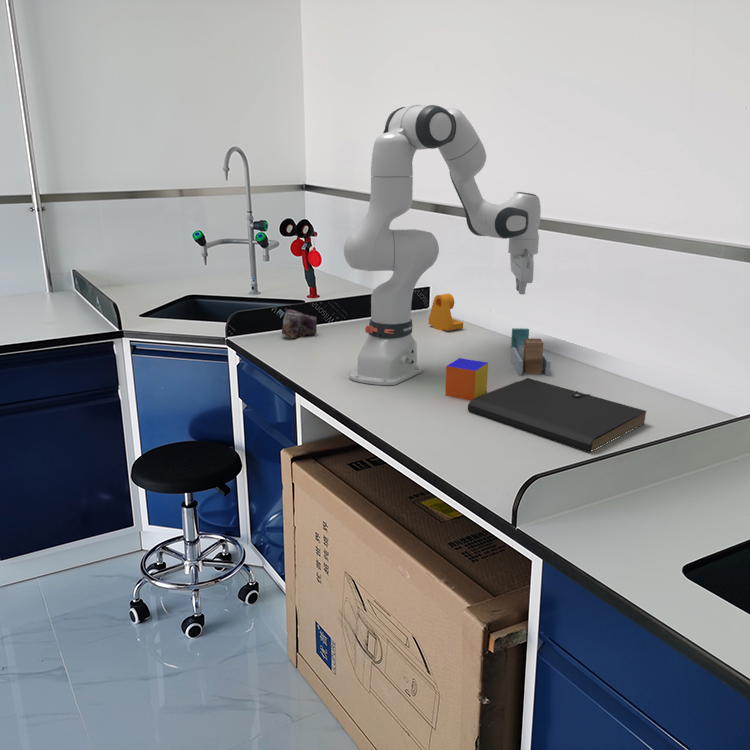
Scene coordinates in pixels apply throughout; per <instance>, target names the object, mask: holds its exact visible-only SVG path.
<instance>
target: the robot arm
mask: <svg viewBox="0 0 750 750" xmlns="http://www.w3.org/2000/svg"><path fill="white" fill-rule="evenodd" d="M428 149H431V150H433V149H438V151H439V153H440V154H441V156H442V158H443V160H444V162H445V164H446V166H447V168H448V171H449V178H450V179H451V183H452V185H453V188H454V190H455V191H456V193H457V196H458V198H459V200H460V201H459V202H460V203H461V205H462V207H463V209H464V213H465V219H466V224H467V227H468V229H469V231H470V232H471V233H472V234H473V235H475V236H478V237H489V238H494V239H495V238H496V239H502V240H504V239H508V253H509V254H510V270H511V272H512V274H513V275H514V276H515V290H516V291H517V292H518V294H520V295H525V294H526V288H527V285H528V284H532V283H533V280H534V266H535V265H534V263H535V262H534V255H537V254H538V253H539V243H540V242H539V239H540V235H539V234H540V233H539V228H540V224H541V214H542V213H541V209H542V208H541V201H540V197H539V196H538V195H536V194H535V193H529V192H524V191H523V192H522V191H517V192H514V194H513V195H512V197H510V198H509V199H508V200H507V201H504V202H502V203H501V204H496V203H492V202H489V201H487V200H486V199H484V198H483V196H482V194H481V191H480V189H479V187H478V185H477V182H476V179H475V176H476V175H478V173H481V171H482V170H483V168H484V166H485V164H486V160H487V152H486V149H485V147H484V144H483V142H482V139H481V138H480V137H479V134H478V132H477V131H476V129H475V128H474V126H473V125H472V123H471V122H470V120H469V119H468V118H467V117H466V115H465V114H464V113H463V112H462V111H461V110H460V109H458V108H455V107H454V108H453V107H452V108H451V107H450V108H444V107H442V106H439V105H437V104H436V105H435V104H430V105H422V104H414V105H409V106H402V107H399V108H397V109H395V110H394V111H392V112H391V113H390V114H389V115H388V117H387V119H386V121H385V126H384V130H383V133H381V134H380V135H378V136H377V137H376V138H375V140H374V142H373V147H372V153H371V161H370V162H371V163H370V165H371V166H370V194H369V195H370V196H369V205H368V206H369V207H368V210H367V214H366V216H365V218H364V219H363V221H362V222H361V223H360V225H359V226H358V227H357V228H356V229H355V230H354V231H353V232H351V233H350V234H349V235H348V236H347V238H346V240H345V242H344V245H343V255H344V259H345V261H346V263H347V264H348V266H349V267H350V268H351V269H355V270H360V271H365V272H380V271H381V272H382V271H386V272H387V271H391V272H393V273H392V275H391V277H390V278H389V279H388V280H386V281H384V282H383V283H381V284H378V286H376V287H375V288H374V290H373V291H372V292H371V296H370V299H371V300H370V305H371V307H370V312H371V313H370V315H371V316H370V320H369V323H368V325H367V324H366V326H365V328H364V329H365V330H364V332H365V333H366V334H368V335H367V338H366V340H365V342H364V343H363V345H362V347H361V349H360V352H359V354H358V357H357V365H356V366H355V367H354V369H352V371H351V372H350V374H349V375H348V379H349V380H351V381H355V382H357V383H358V382H359V383H363V384H369V385H378V386H395V385H398V384H399V383H402V382H404V381H405V380H408V379H410V378H412V377H414V376H416V375H418V374H421V373H422V372H423V368H422V367H421V366H420V365H418V346H417V345H418V344H417V342H416V340H415V339H414V337H413V335H412V333H413V319H412V317H411V316H412V301H413V294H414V289H415V287H416V285H417V283H418V281H419V279H420V278H421V277H422V275H423V274H424V273H425V272H426V271H428V269H430V268H431V267H432V266H433V265H435V263H436V261H437V259H438V257H439V253H440V251H439V250H440V247H439V243H438V240H437V238H436V236H435V235H434V234H433V233H432V232H431V231H425V230H421V229H415V228H414V229H413V228H412V229H409V228H408V229H390V225H391V223H392V221H393V220H394V219H397V218H398V217H400V216H402V215H404V214H405V213H407V212H408V211H409V210H410V209H411V207H412V205H413V192H414V191H413V187H414V185H413V184H414V183H413V181H414V179H413V178H414V177H413V176H414V175H413V174H414V173H413V160H414V156H415V154H416V152H417V150H420V151H421V150H428Z"/></svg>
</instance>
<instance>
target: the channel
mask: <svg viewBox="0 0 750 750" xmlns="http://www.w3.org/2000/svg"><path fill="white" fill-rule="evenodd" d="M510 358H511V359H510V361H511V363H512V365H513V367H514V369H515V371H516V373H517V375H518V376H523V372H524V371H523V359H522V357H521V355H520V353H519V351H518V350H517V348H515V347H512V348H511V356H510ZM542 371H543V372H542V373H544V376H550V375H551V374H550V373H551V372H550V371H551V360H550V359H549V357H548V355H546V353H545V351H544V350H543V358H542Z"/></svg>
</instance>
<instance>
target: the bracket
mask: <svg viewBox="0 0 750 750" xmlns="http://www.w3.org/2000/svg"><path fill="white" fill-rule="evenodd" d="M454 307H455V298H454V296H453V294H451V293H444V294H437V295H435V296H434V297H433V301H432V305H431V308H430V313H429V316H428V321H427V322H428V325H429V326H432V328H433V329H435V330H438V331H441V332H446V330H447V331H454V330H459V329H464V322H463V321H461V320H458V319H455V318H453V317H452V312H451V310H452V309H453V308H454Z"/></svg>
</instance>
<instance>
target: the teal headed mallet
mask: <svg viewBox="0 0 750 750" xmlns="http://www.w3.org/2000/svg"><path fill="white" fill-rule="evenodd" d="M529 334H530V328H524V327H523V328H517V327H516V328H515V327H514V328H513V327H512V328H511V339H510V340H511V341H510V348H511V349H512V347H515V348H516V349H517V351H518V353H519V355H520V357H521V358H522V360H523V353H524V338H527V339H530V337H529V336H530V335H529Z"/></svg>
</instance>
